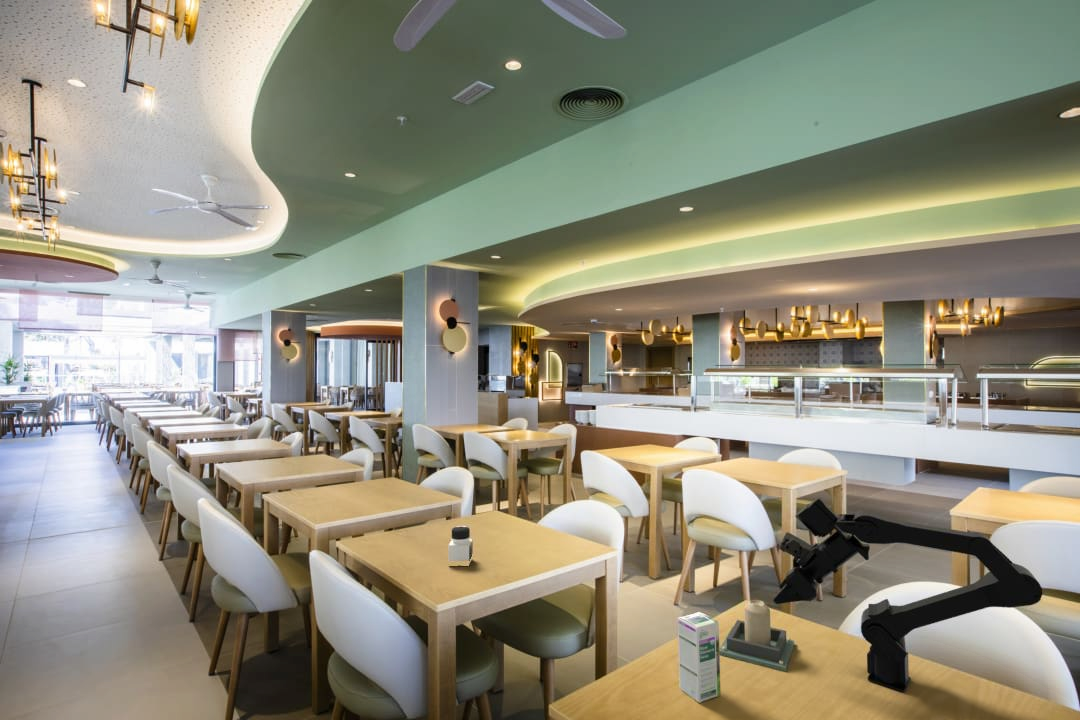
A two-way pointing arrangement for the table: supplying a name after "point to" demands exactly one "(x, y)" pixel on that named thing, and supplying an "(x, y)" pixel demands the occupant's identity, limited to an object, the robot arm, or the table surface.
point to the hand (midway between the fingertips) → (777, 594)
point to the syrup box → (699, 656)
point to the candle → (757, 623)
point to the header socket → (758, 648)
